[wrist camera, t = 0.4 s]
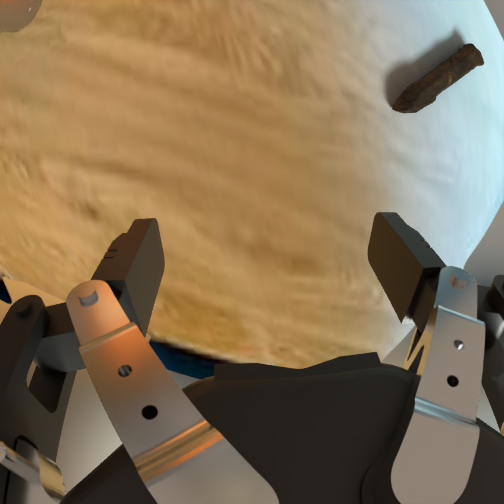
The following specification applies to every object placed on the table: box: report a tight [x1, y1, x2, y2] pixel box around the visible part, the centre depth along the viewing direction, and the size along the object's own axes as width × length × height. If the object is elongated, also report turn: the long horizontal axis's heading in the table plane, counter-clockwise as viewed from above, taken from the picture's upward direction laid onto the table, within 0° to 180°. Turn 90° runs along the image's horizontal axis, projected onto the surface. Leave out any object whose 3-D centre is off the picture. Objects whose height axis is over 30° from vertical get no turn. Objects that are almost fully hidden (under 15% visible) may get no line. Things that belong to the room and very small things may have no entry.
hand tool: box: [392, 43, 484, 113], centre depth 32 cm, size 19×4×5 cm, turn 129°
